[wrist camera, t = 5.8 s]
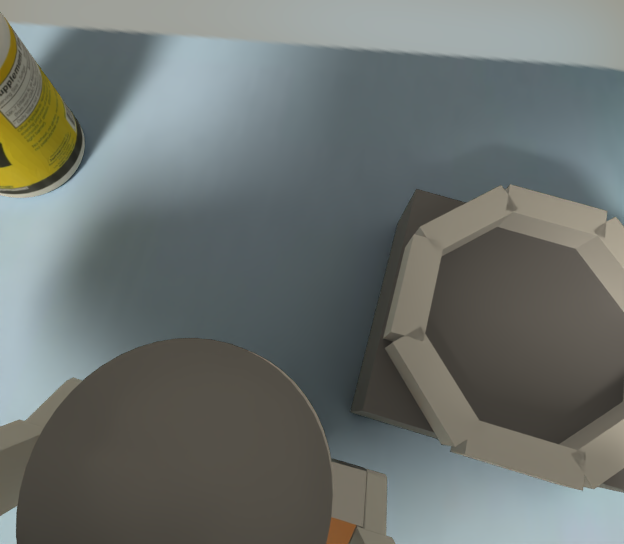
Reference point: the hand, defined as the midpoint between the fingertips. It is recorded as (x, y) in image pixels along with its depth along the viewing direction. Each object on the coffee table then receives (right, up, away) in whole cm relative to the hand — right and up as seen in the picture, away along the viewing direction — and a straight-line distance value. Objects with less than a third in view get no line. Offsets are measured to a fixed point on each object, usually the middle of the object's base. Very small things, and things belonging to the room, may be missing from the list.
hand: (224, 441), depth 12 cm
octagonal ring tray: (+9, +2, +6) cm, 11 cm away
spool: (0, -2, +4) cm, 5 cm away
